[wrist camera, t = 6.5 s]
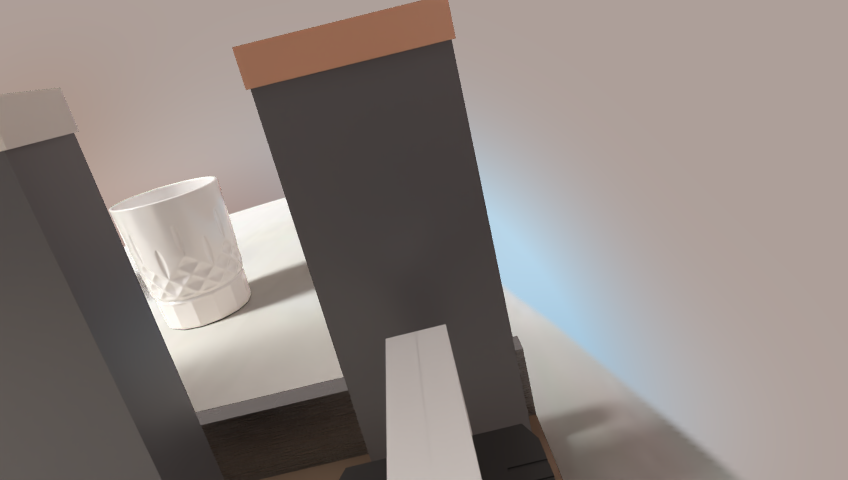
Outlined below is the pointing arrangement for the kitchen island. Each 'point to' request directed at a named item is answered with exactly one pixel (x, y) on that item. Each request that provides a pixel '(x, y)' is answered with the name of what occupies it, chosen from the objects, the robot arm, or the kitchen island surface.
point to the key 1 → (388, 201)
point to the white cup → (185, 251)
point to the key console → (306, 432)
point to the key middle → (78, 323)
